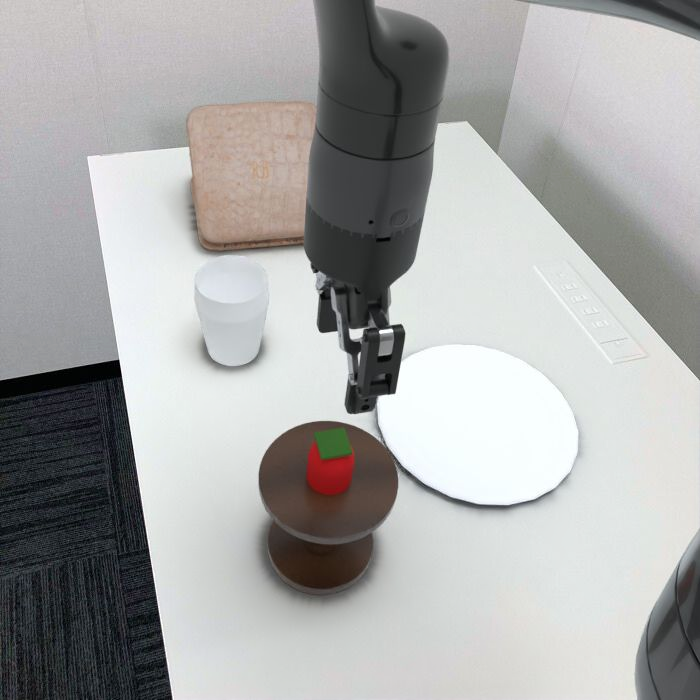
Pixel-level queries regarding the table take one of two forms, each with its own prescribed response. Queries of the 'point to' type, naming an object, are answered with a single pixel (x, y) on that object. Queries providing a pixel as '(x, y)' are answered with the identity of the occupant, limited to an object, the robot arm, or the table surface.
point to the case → (250, 172)
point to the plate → (478, 425)
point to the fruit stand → (324, 510)
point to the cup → (232, 307)
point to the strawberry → (330, 462)
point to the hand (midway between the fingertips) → (344, 367)
